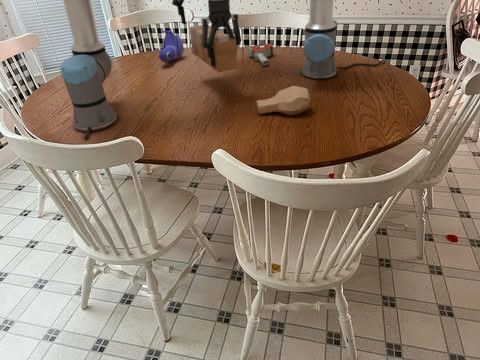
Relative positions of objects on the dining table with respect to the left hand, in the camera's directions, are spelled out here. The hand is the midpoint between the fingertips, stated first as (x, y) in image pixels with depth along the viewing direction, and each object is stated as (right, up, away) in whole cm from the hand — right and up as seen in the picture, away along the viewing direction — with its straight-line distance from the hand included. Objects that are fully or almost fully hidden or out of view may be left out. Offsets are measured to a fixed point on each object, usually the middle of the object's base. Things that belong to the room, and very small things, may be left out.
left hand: (223, 63), depth 137 cm
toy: (-30, +17, +50) cm, 61 cm away
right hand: (-11, +22, +11) cm, 27 cm away
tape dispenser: (+17, +17, +46) cm, 52 cm away
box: (-5, +4, +9) cm, 11 cm away
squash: (+23, -20, -5) cm, 31 cm away
